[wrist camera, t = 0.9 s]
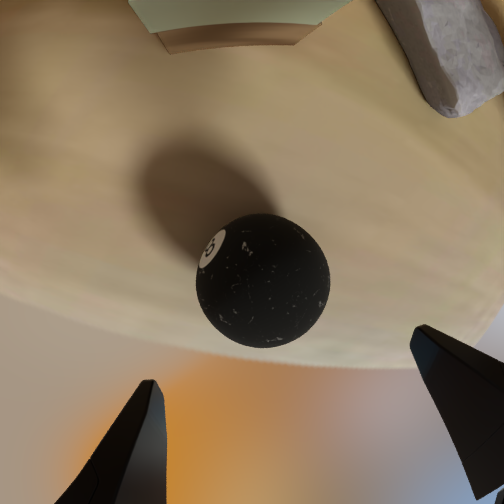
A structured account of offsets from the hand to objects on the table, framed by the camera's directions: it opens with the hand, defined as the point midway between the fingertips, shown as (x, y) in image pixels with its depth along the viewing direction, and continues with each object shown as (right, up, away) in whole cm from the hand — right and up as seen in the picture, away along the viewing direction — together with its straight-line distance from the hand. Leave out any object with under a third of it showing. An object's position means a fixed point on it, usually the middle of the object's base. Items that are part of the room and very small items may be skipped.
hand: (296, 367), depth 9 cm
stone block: (+11, +19, +3) cm, 22 cm away
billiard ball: (-1, +4, +8) cm, 9 cm away
